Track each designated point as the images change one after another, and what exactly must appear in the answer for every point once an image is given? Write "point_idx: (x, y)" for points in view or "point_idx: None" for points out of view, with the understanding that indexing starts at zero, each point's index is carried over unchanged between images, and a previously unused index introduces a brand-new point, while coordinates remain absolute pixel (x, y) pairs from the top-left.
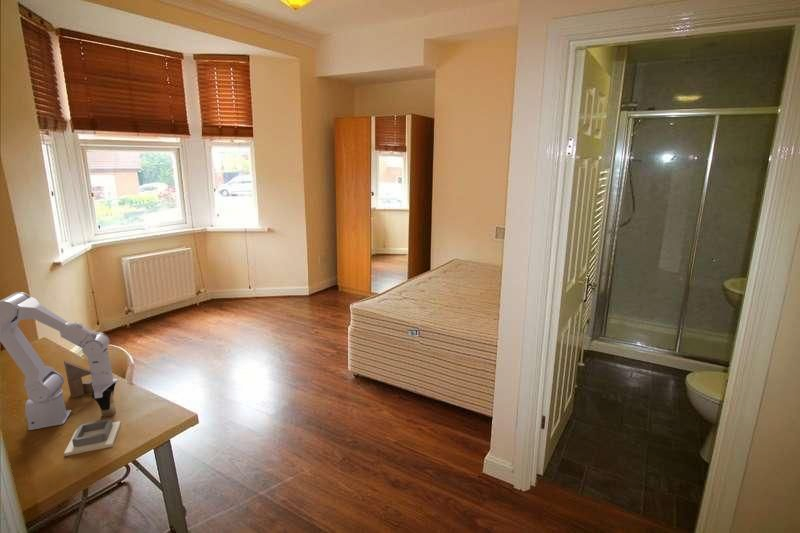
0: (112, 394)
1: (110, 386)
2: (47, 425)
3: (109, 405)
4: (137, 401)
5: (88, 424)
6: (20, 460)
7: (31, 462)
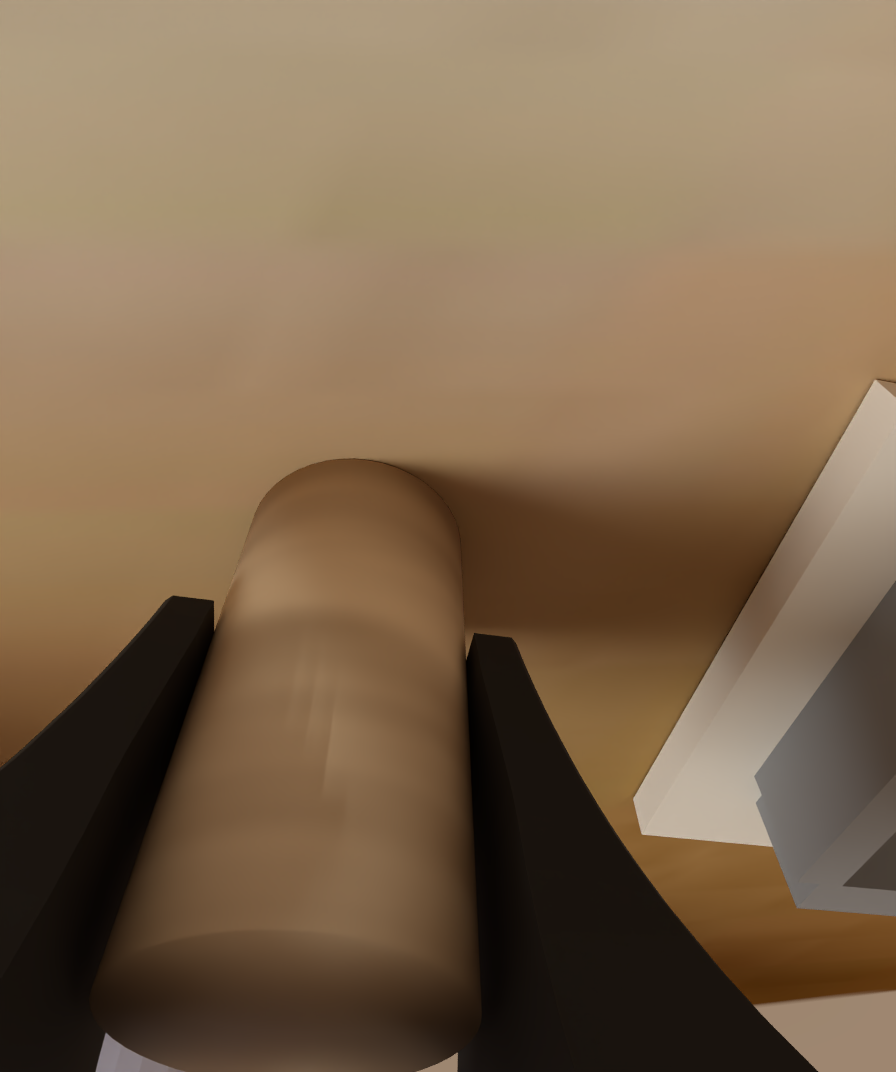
0: (335, 825)
1: (13, 1069)
2: None
3: (538, 701)
4: (33, 2)
5: (875, 846)
6: (780, 996)
7: (879, 960)
